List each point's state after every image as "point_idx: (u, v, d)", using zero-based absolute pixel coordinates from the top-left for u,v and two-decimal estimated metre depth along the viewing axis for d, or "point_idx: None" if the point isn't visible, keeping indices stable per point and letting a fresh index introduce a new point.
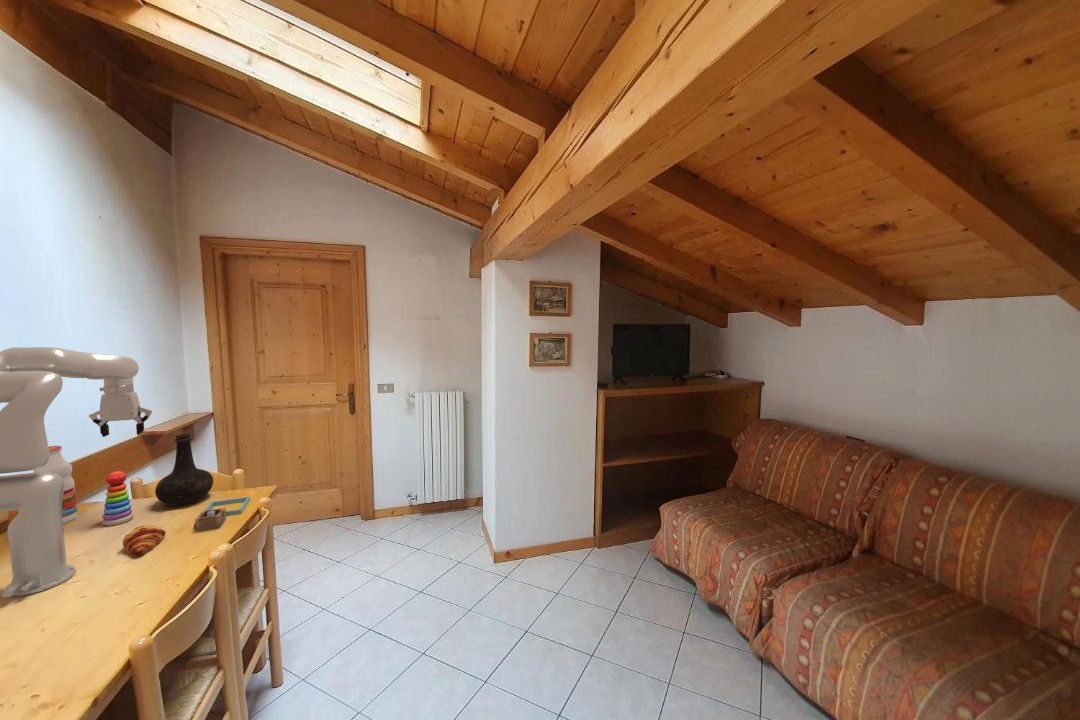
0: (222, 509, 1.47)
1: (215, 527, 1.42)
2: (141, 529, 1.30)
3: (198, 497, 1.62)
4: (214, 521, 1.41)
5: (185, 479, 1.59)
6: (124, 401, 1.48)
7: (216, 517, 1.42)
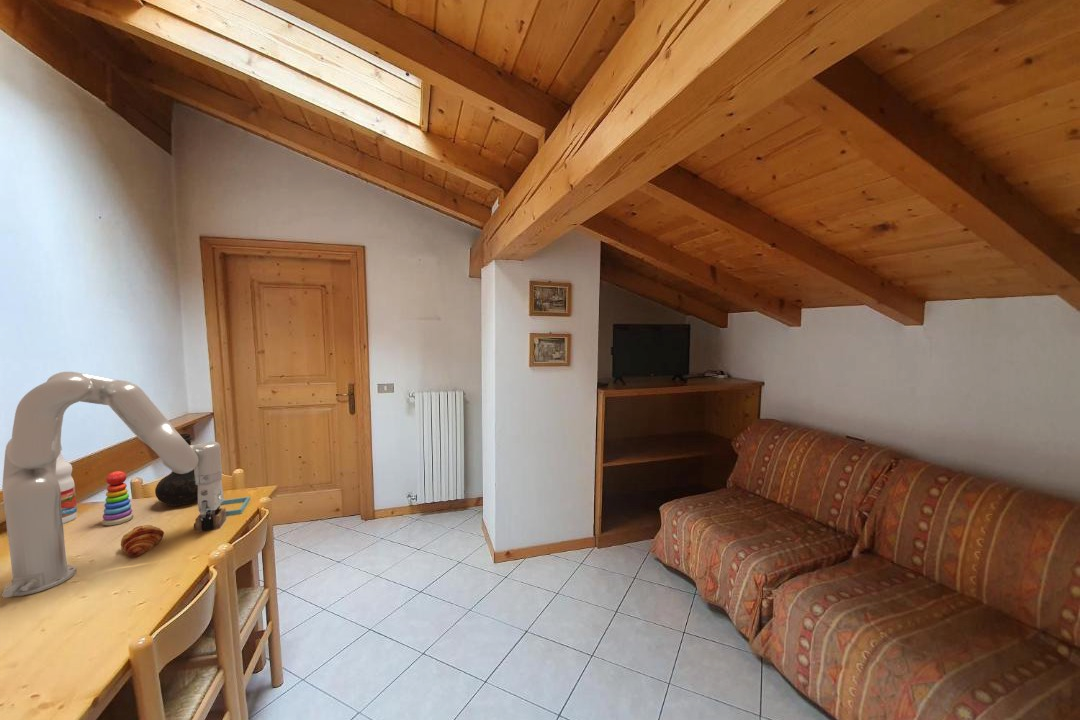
0: (222, 509, 1.47)
1: (215, 527, 1.42)
2: (139, 529, 1.30)
3: None
4: (214, 521, 1.41)
5: (185, 479, 1.59)
6: (220, 484, 1.46)
7: (216, 517, 1.42)
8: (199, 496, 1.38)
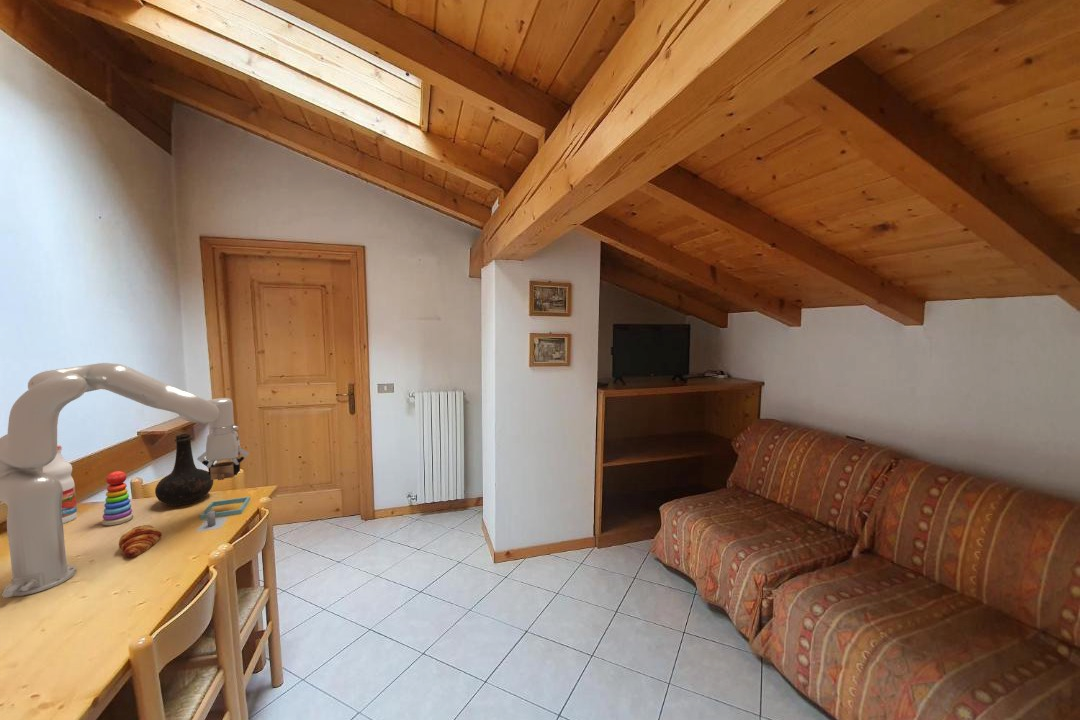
0: (219, 462, 1.57)
1: None
2: (137, 530, 1.29)
3: (198, 497, 1.62)
4: None
5: (185, 479, 1.59)
6: None
7: None
8: (236, 442, 1.55)
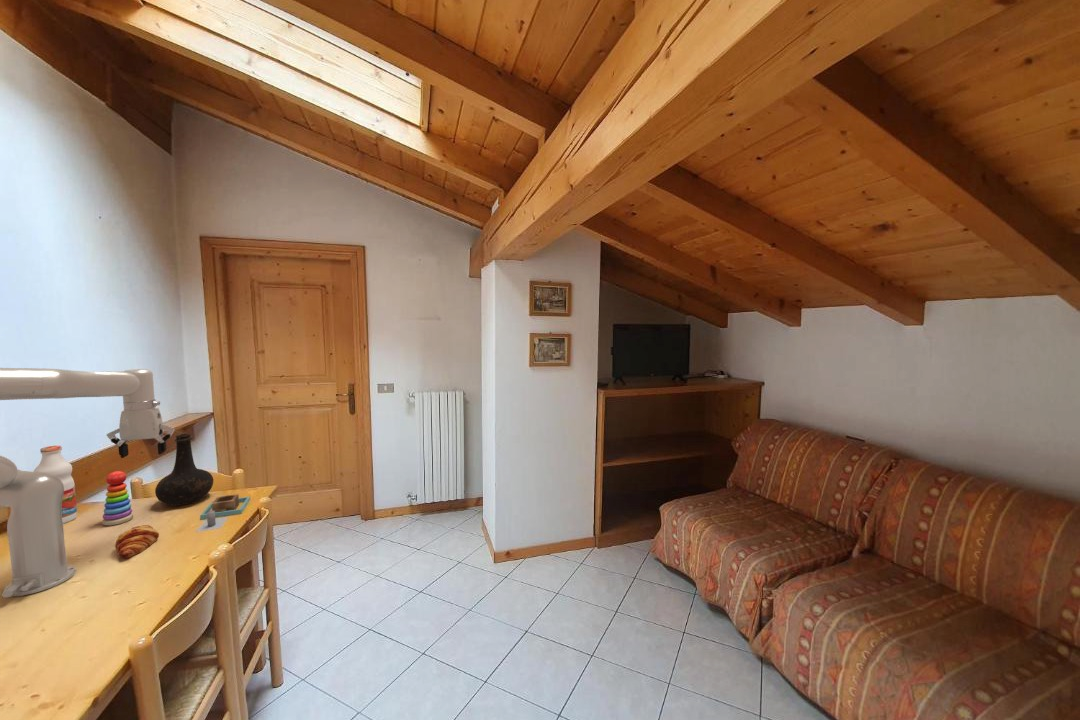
0: (221, 496, 1.58)
1: (238, 505, 1.60)
2: (133, 530, 1.29)
3: (198, 497, 1.62)
4: (237, 499, 1.59)
5: (185, 479, 1.59)
6: None
7: (238, 495, 1.60)
8: (156, 420, 1.36)
